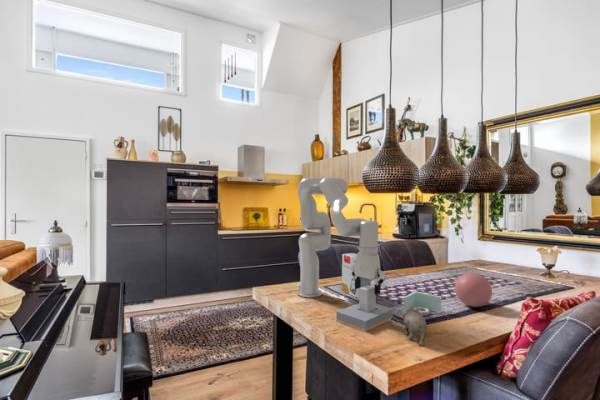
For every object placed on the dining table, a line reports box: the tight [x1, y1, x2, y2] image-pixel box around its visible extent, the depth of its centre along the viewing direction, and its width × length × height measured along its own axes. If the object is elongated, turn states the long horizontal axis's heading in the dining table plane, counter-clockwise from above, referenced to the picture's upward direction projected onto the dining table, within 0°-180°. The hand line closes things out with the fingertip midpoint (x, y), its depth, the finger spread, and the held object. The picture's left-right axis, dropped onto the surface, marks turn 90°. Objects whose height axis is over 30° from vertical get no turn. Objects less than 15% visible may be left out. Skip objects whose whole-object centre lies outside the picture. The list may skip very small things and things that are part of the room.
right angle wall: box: [403, 290, 443, 316], centre depth 145 cm, size 12×12×8 cm
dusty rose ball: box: [454, 272, 493, 308], centre depth 156 cm, size 15×20×15 cm
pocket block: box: [335, 302, 394, 332], centre depth 136 cm, size 14×20×4 cm
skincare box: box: [358, 285, 377, 313], centre depth 138 cm, size 6×4×12 cm
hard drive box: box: [341, 252, 372, 299], centre depth 172 cm, size 16×8×20 cm, turn 27°
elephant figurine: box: [402, 307, 428, 347], centre depth 121 cm, size 8×14×15 cm
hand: (367, 291), depth 138 cm, fingers open, 9 cm apart
